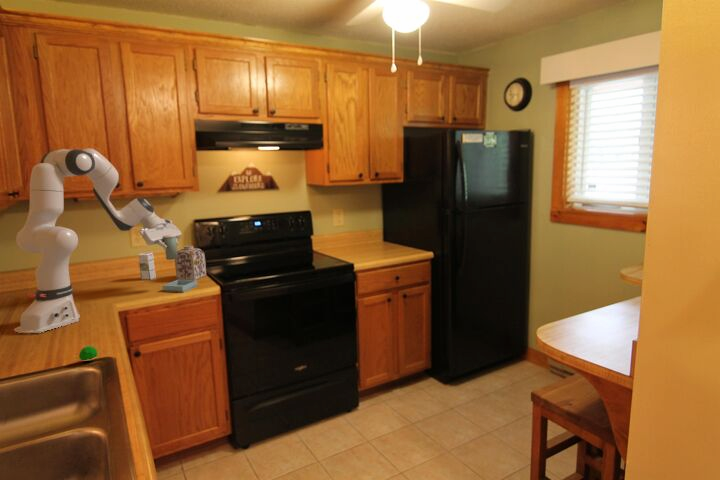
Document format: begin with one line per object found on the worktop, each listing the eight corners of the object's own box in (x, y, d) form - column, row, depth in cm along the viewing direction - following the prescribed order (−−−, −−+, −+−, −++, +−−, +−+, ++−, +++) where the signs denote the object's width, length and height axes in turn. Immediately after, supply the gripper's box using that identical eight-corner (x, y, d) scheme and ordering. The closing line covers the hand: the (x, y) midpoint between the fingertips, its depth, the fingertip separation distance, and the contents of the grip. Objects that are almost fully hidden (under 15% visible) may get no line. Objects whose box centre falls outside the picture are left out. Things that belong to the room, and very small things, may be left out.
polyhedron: (82, 359, 145) (80, 345, 144) (100, 357, 146) (98, 343, 146) (78, 365, 140) (76, 351, 139) (96, 363, 142) (94, 348, 141)
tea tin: (173, 259, 221) (170, 236, 219) (163, 259, 223) (160, 236, 220) (180, 257, 226) (178, 234, 224) (171, 257, 228) (168, 234, 226)
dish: (182, 292, 220) (182, 286, 219) (163, 291, 223) (162, 285, 222) (197, 286, 231) (197, 280, 230) (178, 285, 234) (178, 279, 233)
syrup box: (156, 277, 253) (153, 252, 250) (150, 280, 247) (147, 254, 245) (146, 277, 253) (143, 252, 251) (140, 280, 248) (137, 254, 245)
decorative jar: (176, 280, 245) (172, 247, 242) (188, 274, 256) (185, 243, 253) (195, 280, 242) (192, 248, 239) (207, 275, 253) (204, 244, 250)
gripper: (140, 225, 215) (158, 246, 212) (173, 219, 233) (189, 238, 231) (135, 234, 217) (152, 255, 215) (167, 228, 236) (183, 247, 234)
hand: (171, 246), depth 223 cm, fingers closed on tea tin, 5 cm apart
